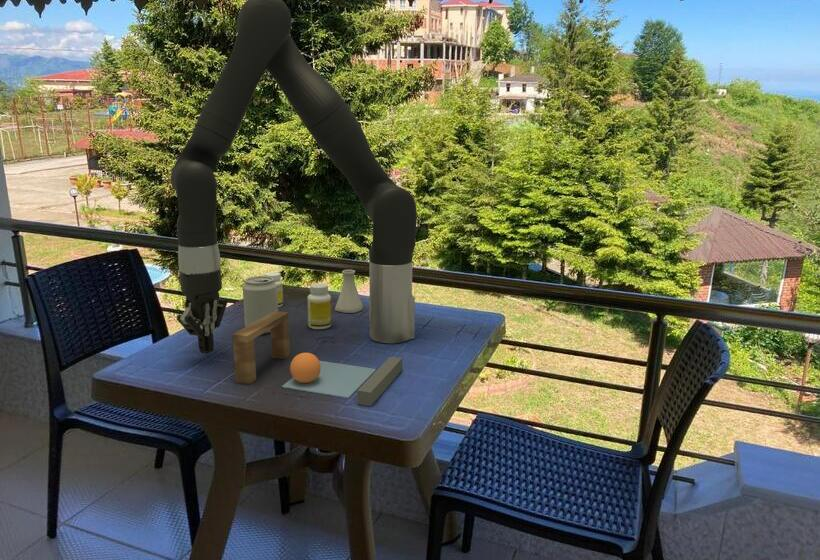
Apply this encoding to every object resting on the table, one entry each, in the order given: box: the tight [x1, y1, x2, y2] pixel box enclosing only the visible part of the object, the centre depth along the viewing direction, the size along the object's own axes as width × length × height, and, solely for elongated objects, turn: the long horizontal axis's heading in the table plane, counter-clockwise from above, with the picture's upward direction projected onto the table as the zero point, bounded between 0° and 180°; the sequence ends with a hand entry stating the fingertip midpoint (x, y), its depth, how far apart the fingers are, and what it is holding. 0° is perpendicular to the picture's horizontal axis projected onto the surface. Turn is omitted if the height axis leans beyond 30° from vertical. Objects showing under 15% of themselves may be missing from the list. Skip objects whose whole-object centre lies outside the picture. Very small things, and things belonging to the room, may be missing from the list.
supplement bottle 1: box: [263, 271, 284, 308], centre depth 154 cm, size 5×5×8 cm
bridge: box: [232, 310, 291, 385], centre depth 115 cm, size 3×14×9 cm, turn 161°
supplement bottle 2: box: [306, 282, 333, 330], centre depth 139 cm, size 5×5×10 cm
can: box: [242, 275, 279, 335], centre depth 136 cm, size 8×8×12 cm
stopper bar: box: [356, 356, 403, 407], centre depth 109 cm, size 2×16×2 cm, turn 162°
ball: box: [289, 352, 321, 383], centre depth 110 cm, size 6×6×6 cm
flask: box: [334, 269, 364, 314], centre depth 152 cm, size 7×7×10 cm
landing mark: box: [281, 360, 377, 399], centre depth 112 cm, size 13×13×1 cm
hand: (206, 352), depth 120 cm, fingers closed
